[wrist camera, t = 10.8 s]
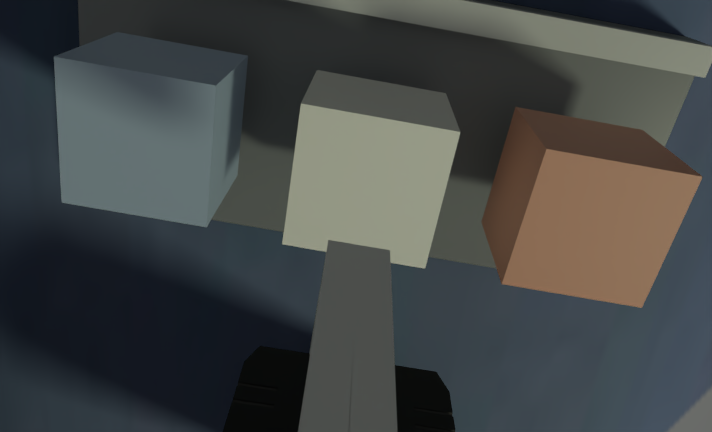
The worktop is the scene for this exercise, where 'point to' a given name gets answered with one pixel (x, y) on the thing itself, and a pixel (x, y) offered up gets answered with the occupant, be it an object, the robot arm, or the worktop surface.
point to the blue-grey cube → (149, 126)
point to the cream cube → (370, 166)
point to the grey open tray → (418, 80)
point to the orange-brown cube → (584, 207)
